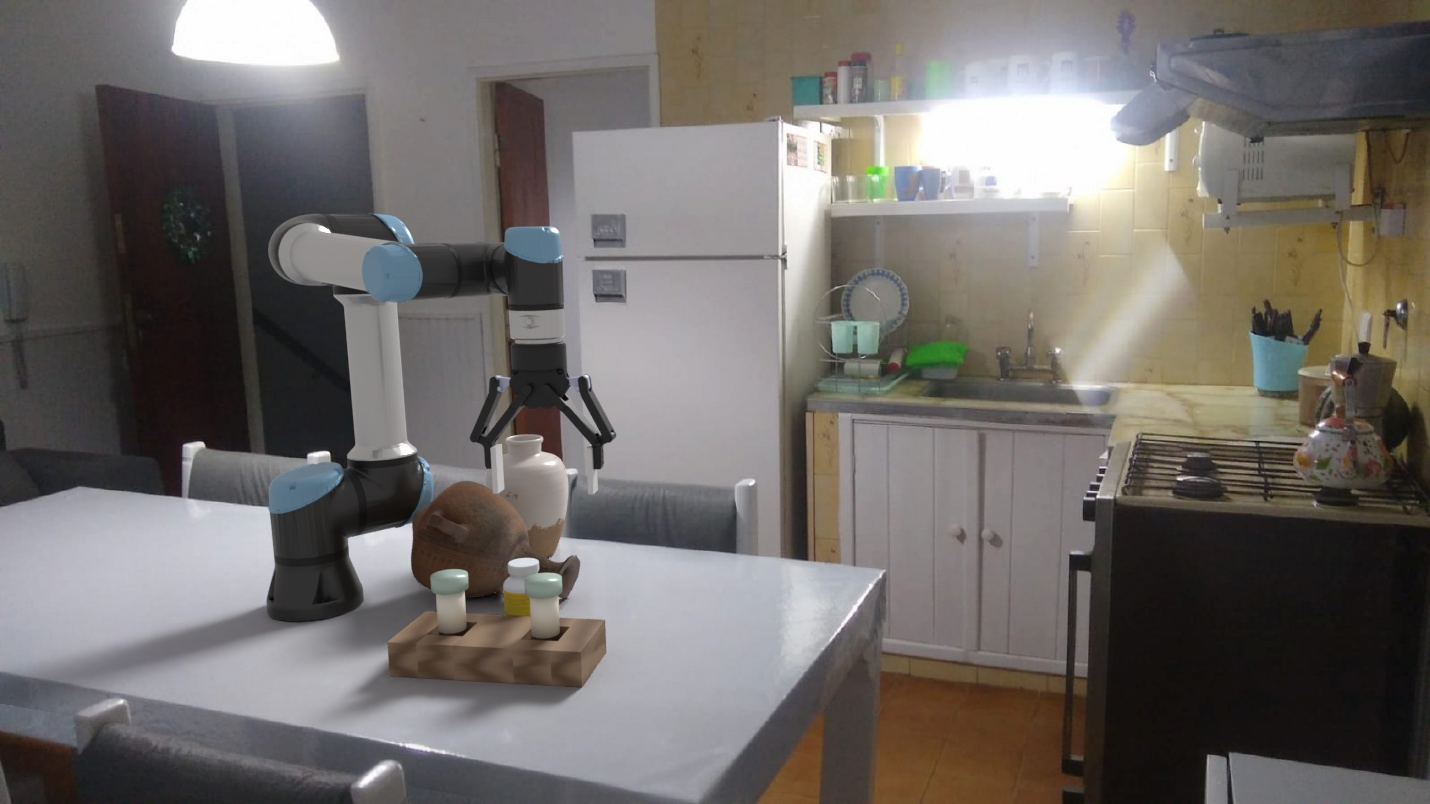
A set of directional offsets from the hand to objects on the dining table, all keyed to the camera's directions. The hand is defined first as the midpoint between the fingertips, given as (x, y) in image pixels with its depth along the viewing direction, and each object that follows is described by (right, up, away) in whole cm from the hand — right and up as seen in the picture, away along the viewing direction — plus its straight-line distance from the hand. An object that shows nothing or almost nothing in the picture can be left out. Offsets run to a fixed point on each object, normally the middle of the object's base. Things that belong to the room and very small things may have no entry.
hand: (545, 492), depth 146 cm
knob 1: (-14, -20, +4) cm, 25 cm away
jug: (-14, -21, +32) cm, 40 cm away
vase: (-12, -17, +55) cm, 59 cm away
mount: (-7, -25, +3) cm, 26 cm away
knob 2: (0, -20, +1) cm, 20 cm away
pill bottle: (-5, -23, +14) cm, 28 cm away
